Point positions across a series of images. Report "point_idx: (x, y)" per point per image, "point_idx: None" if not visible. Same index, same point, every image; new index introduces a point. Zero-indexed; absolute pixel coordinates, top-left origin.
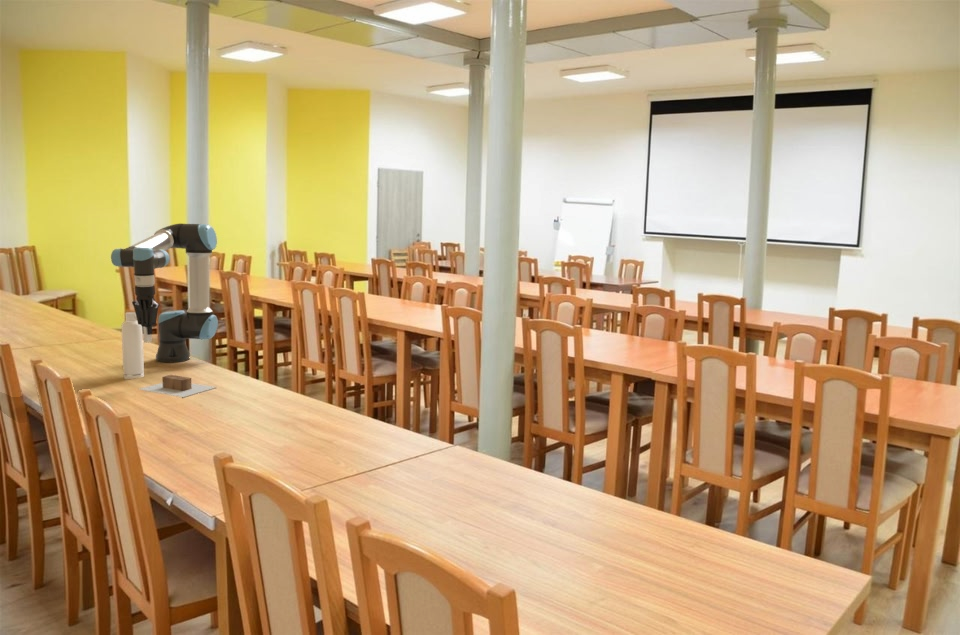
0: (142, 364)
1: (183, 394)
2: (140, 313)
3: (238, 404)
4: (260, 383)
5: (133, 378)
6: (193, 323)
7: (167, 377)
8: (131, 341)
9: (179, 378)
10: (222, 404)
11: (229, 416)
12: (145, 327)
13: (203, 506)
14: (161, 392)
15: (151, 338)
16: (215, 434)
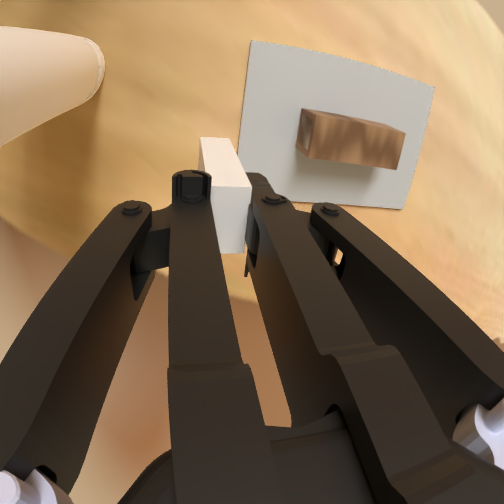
0: (87, 56)
1: (394, 188)
2: (104, 333)
3: (499, 200)
4: (489, 17)
5: (92, 95)
6: None
7: (332, 158)
8: (20, 129)
9: (376, 154)
10: (480, 212)
11: (494, 262)
12: (238, 251)
13: None
14: (328, 196)
15: (231, 147)
16: (483, 319)
